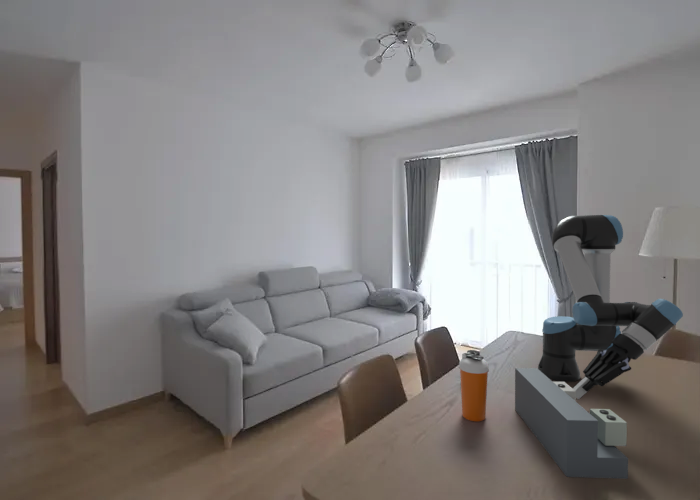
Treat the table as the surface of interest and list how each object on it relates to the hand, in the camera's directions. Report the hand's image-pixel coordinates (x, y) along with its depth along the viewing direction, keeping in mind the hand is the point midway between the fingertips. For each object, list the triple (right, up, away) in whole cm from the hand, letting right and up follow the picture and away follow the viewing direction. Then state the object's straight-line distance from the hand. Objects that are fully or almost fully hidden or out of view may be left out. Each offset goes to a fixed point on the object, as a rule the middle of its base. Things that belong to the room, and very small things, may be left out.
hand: (574, 395), depth 114 cm
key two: (-2, -4, -18) cm, 18 cm away
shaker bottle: (-29, -9, +5) cm, 31 cm away
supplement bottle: (-20, -8, +33) cm, 39 cm away
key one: (-4, -3, 0) cm, 5 cm away
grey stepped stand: (-8, -9, -8) cm, 15 cm away
